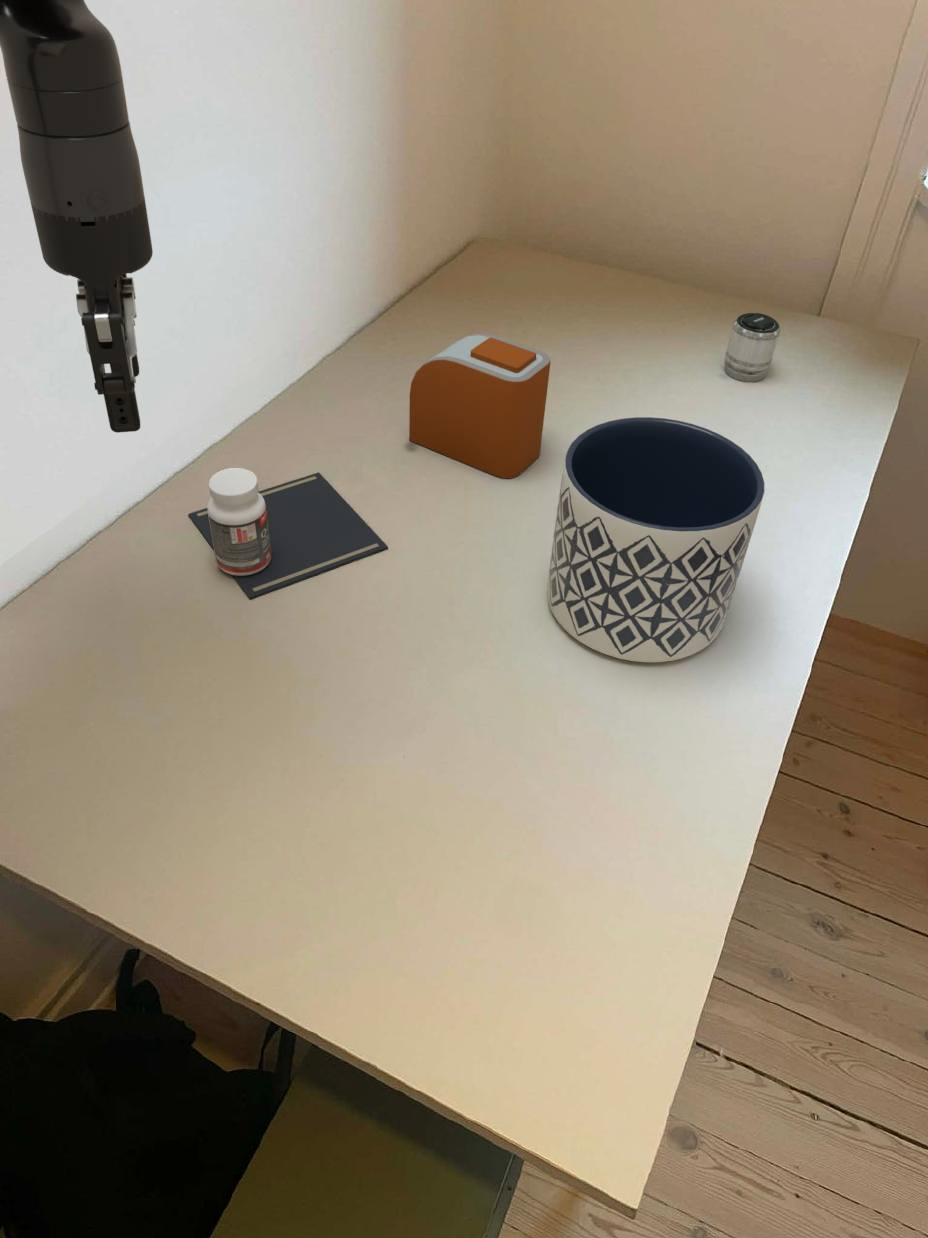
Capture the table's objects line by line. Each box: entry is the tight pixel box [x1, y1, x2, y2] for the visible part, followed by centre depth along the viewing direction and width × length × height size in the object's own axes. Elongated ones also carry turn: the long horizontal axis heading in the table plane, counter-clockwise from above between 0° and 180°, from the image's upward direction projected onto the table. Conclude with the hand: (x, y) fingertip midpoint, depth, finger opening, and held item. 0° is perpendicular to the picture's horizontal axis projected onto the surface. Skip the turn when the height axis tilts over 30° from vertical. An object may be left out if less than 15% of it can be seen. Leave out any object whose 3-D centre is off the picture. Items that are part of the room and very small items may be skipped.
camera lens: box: [724, 312, 781, 383], centre depth 133 cm, size 6×6×8 cm
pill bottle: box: [206, 467, 271, 576], centre depth 97 cm, size 6×6×10 cm
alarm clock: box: [408, 332, 552, 479], centre depth 114 cm, size 15×8×14 cm, turn 57°
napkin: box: [187, 472, 389, 600], centre depth 105 cm, size 16×16×1 cm
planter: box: [546, 416, 765, 663], centre depth 93 cm, size 18×18×16 cm
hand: (126, 401), depth 78 cm, fingers open, 8 cm apart
